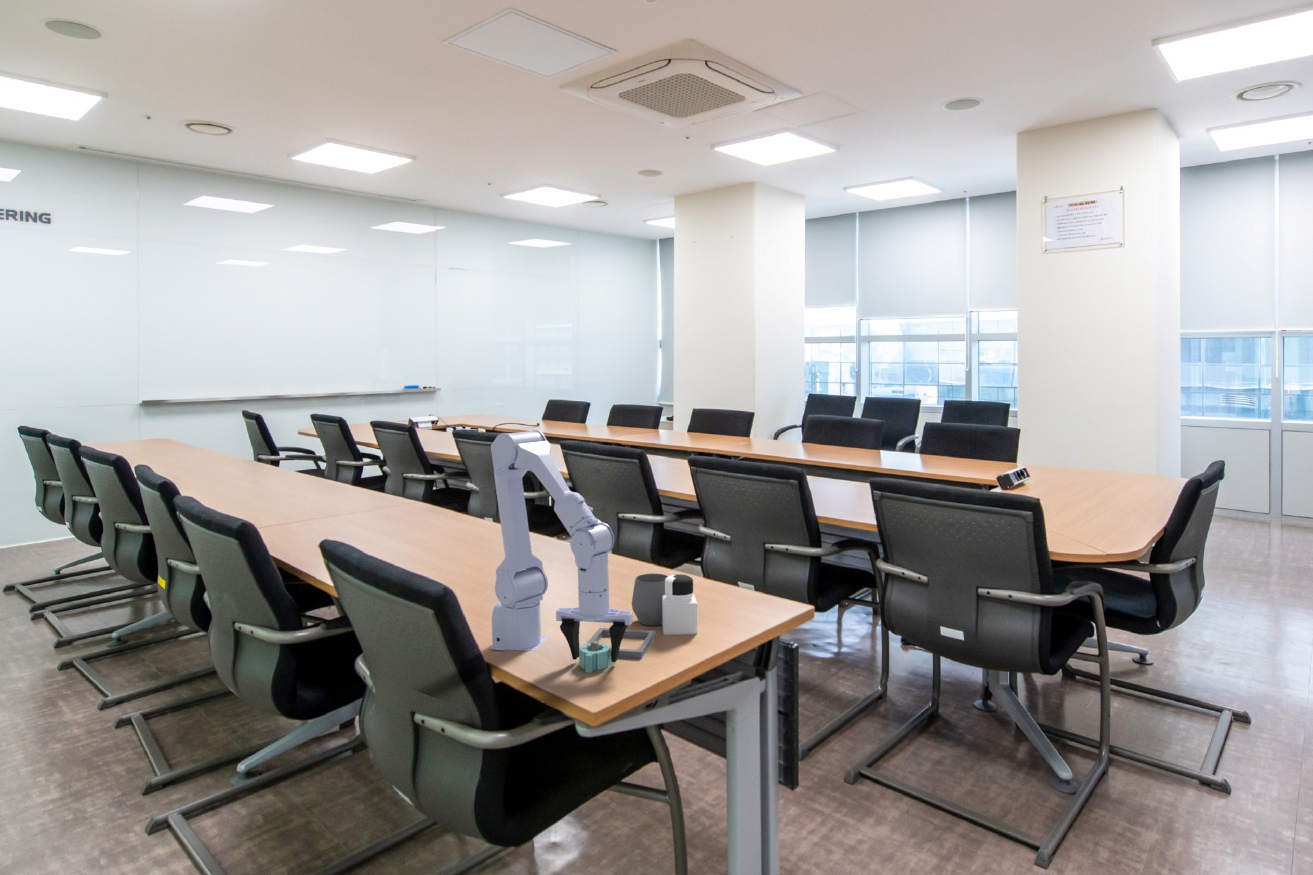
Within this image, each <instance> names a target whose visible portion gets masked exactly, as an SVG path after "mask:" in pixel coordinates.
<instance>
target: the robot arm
mask: <svg viewBox="0 0 1313 875" xmlns="http://www.w3.org/2000/svg"><path fill="white" fill-rule="evenodd" d="M551 448H552V446H551V444H550V442H549V441H548V440H547V438H546V435H545V434H544V433H543V432H542V431H541V430H539V429H538V430H537V429H533V430H530V431H529V430H528V431H518V432H510V433H507V432H502V433H499V434H498V435H497V436H496V437H495V439H494V441H493V442H492V443H491V445H490V450H491V458H492V467H493V475H494V476H493V477H494V483H495V490H496V499H497V505H498V512H499V520H500V528H501V535H502V543H503V551H504V558H503V560H502V561H501V563H500V564H499V565H498V566H497V568H496V569H495V575H496V576H495V577H496V578H495V579H496V580H495V585H494V592H495V597H496V598H497V600H498V602H496V603H495V605H494V606H493V609H492V613H491V637H492V638H491V639H492V641H491V642H492V645H491V647H490V649H491V650H492V651H506V650H512V651H513V650H514V651H515V650H517V651H530V652H531V651H532V652H535V651H536V650H537V649H539V647H540V646H542V645H543V643H544V642H546V640H547V639H549V637H548V636H544V637H543V636H542V627H541V626H542V625H541V601H543V599H544V598H543V597H544V596H543V595H545V594H546V592H547V590H548V588H549V582H548V576H547V574H546V572H545V570H544V566H543V561H542V559H540V558H538V556H536V555H534V553H533V551H532V544H531V537H530V529H529V521H528V514H527V507H526V500H525V492H524V491H525V490H524V485H523V477H524V476H525V475H526V474H527V472H528V471H529V472H532V473H533V474H534V475H535V476H536V478H537V479H538V481H540V482H541V484H542V485H543V487H544V488H545V490H546V491H547V492H548V493H549V495H550V496H551V497H552V499H553V500H554V506H553V510H554V513H555V514H556V515H557V518H558V519H559V520H560V522H561V523H562V525H563V526H564V528H565V529H566V531H567V533H568V534H569V536H570V537H571V541H570V542H569V545H570V549H571V552H572V553H573V555H574V560H575V562H574V563H575V565H576V567H577V584H578V585H577V588H578V589H577V590H578V593H577V595H578V596H577V597H578V607H565V608H564V607H563V608H561V607H560V608H558V609H556V611H555V617H556V618H555V619H556V620H555V621H556V622H561V624H560V625H559V628H560V632H561V633H562V634H563V636H564V638H565V640H566V642H567V644H568V647H569V650H570V652H571V659H572V660H577V659H579V648H580V626H581V624H580V623H581V622H587V623H608V624H611V626H609V627H608V628H609V632H610V636H609V637H610V645H611V646H610V647H611V661H612V662H615V663H617V661H618V660H617V659H619V657H618V654H619V649H621V648H620V647H621V643H622V640H623V638H624V637H623V635H624V633H625V630H626V629H627V628H628V626H631V625H632V624H633V622H634V621H633V620H634V619H633V618H634V617H633V616H634V615H633V613H634V611H624V610H620V609H616V608H611V607H610V586H609V578H610V577H609V552H611V551H612V549H613V547H614V544H615V534H614V532H613V530H612V528H611V526H610V525H608V523H605V522H603V521H601V520H600V519H598V518H596V517H595V515H594V514H593V512H592V511H591V509H590V507H589V506H588V505H587V503H586V500H585V498H584V497H583V495H581V494H580V493H578V492H574V491H571V490H570V488H569V486H568V484H567V483H566V480H565V479H564V477H563V476H562V473H561V472H560V469H559V468H558V466H557V464H556V463H555V461H554V459H553V458H552V455H551Z"/></svg>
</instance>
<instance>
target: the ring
mask: <svg viewBox="0 0 1313 875" xmlns="http://www.w3.org/2000/svg"><path fill="white" fill-rule="evenodd" d="M578 659H579V660H578V662H579V665H580V666H581V667H582V668H583V669H585V671H584V672H585V674H586V673H588V674H592V673H594V672H593V671H594V670H600V669H604V668H607V667H609V665H610V664H611V646H610V645H609V644H607V643H605V642H599V650H598V651H591V643H588V644H586V643H584V644H582V645H581V646H579V657H578Z"/></svg>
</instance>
